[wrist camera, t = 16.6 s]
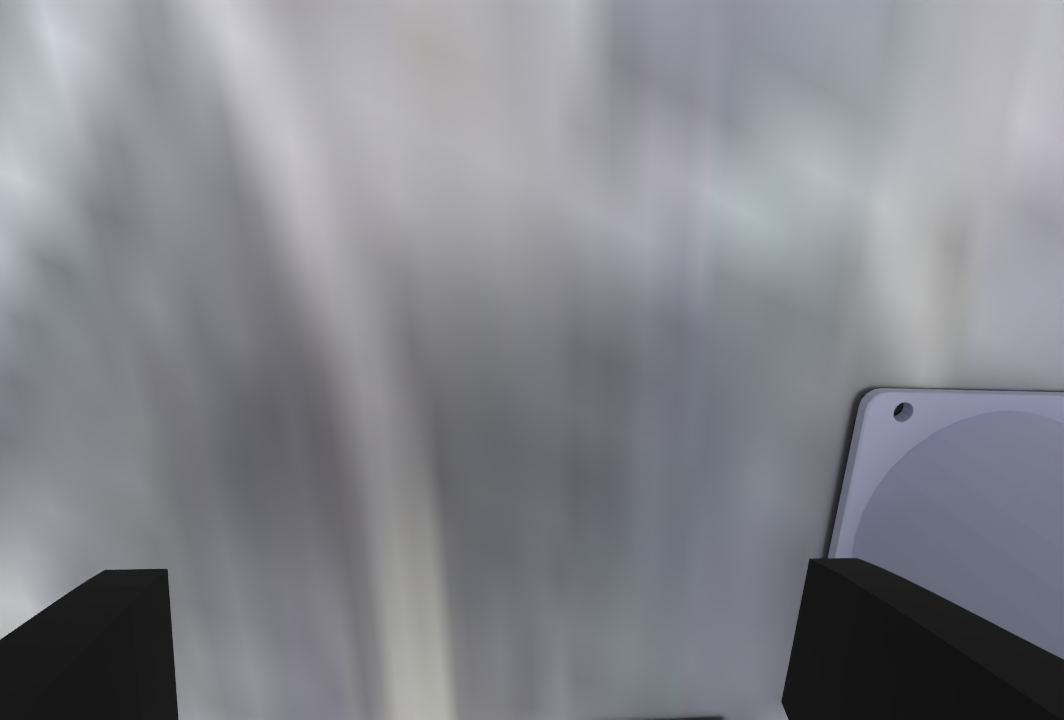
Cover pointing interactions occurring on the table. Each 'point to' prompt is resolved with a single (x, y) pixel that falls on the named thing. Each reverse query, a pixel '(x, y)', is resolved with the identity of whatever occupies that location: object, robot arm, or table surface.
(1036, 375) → the table surface
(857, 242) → the table surface
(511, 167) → the table surface
